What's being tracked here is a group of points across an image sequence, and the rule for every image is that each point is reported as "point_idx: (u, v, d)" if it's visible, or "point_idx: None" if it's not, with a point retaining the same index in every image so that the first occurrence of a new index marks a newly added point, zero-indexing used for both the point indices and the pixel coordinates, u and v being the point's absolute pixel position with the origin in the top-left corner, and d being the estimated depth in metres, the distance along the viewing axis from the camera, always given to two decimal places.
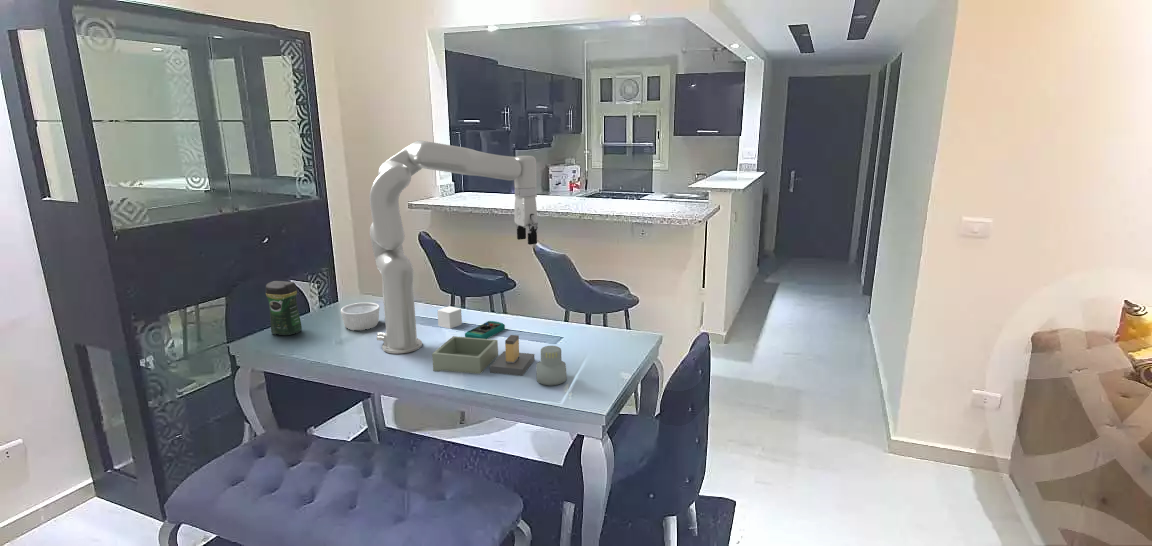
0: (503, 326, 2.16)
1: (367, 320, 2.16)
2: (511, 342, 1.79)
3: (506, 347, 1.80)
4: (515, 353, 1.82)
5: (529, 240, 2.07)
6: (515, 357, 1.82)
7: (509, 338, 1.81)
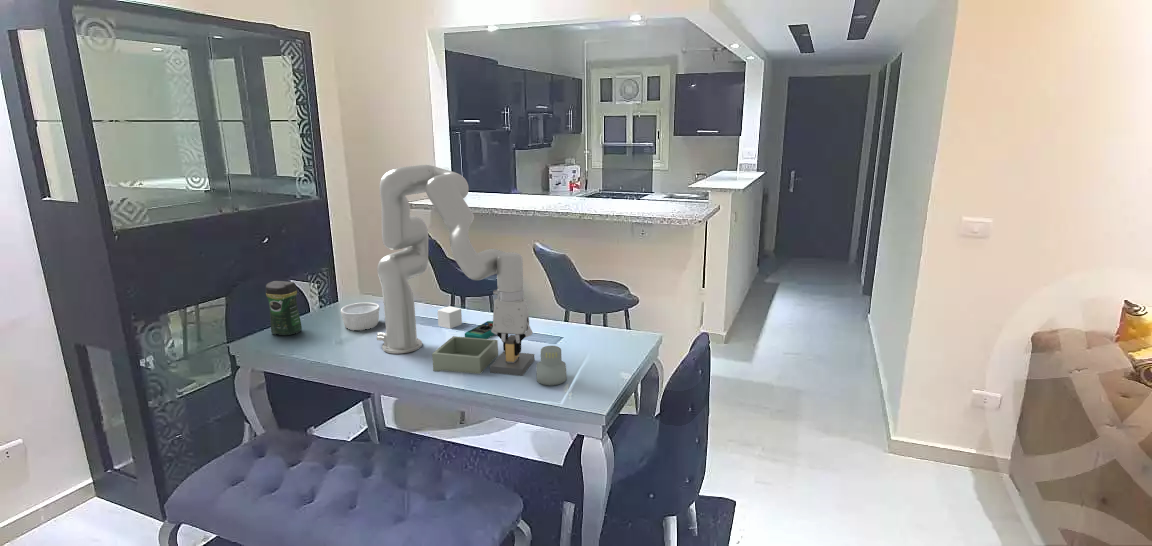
0: None
1: (367, 320, 2.16)
2: (511, 342, 1.79)
3: (506, 347, 1.80)
4: None
5: (517, 351, 1.81)
6: (515, 357, 1.82)
7: (509, 338, 1.81)
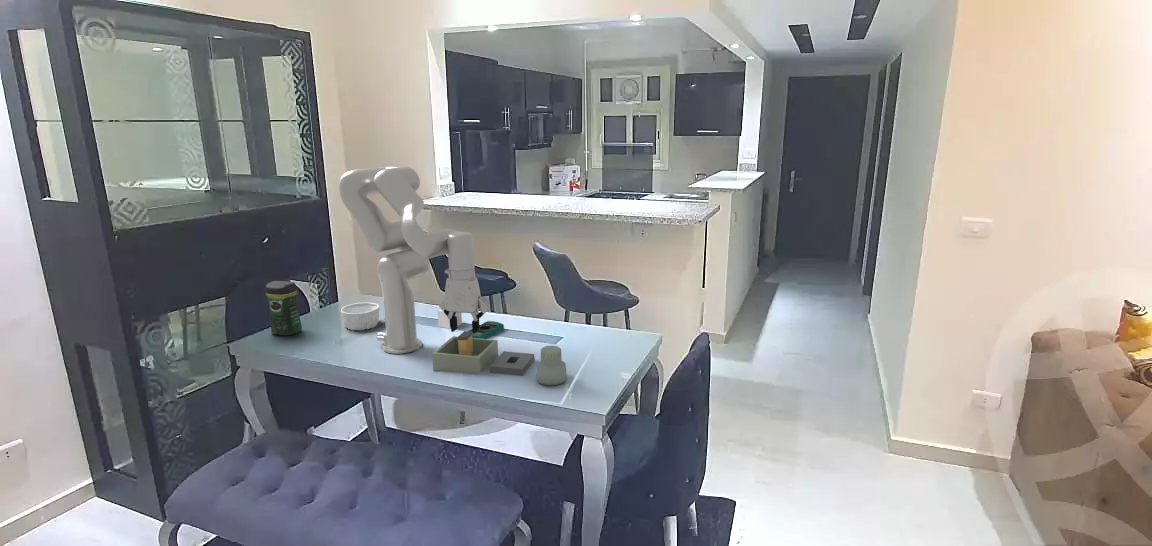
0: (502, 326, 2.16)
1: (367, 320, 2.16)
2: (464, 338, 1.83)
3: (459, 343, 1.83)
4: (468, 349, 1.85)
5: (474, 328, 1.82)
6: (468, 353, 1.85)
7: (462, 334, 1.85)
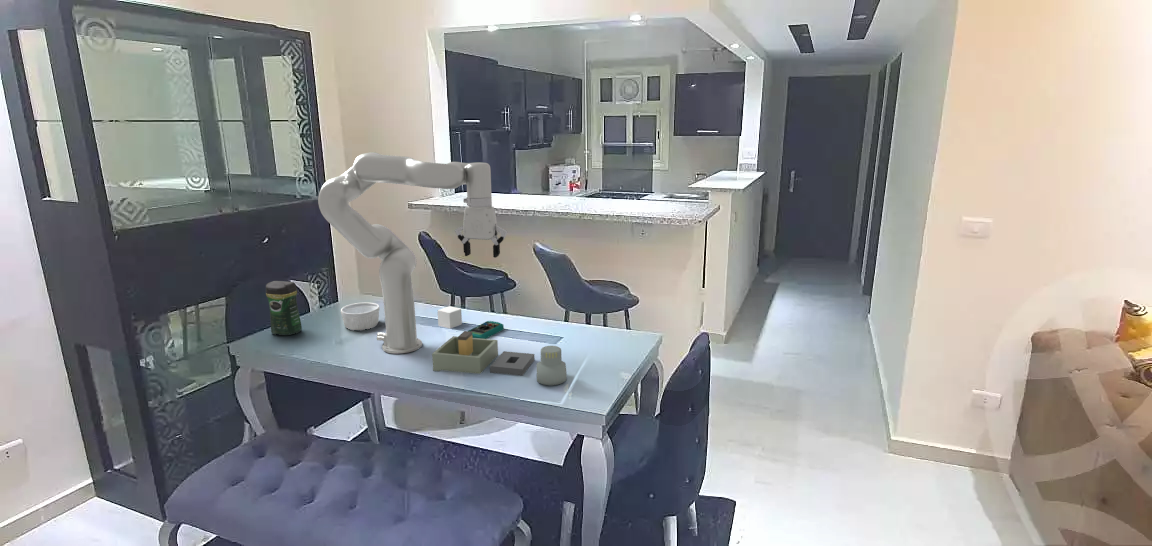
0: (502, 326, 2.16)
1: (367, 320, 2.16)
2: (464, 338, 1.83)
3: (459, 343, 1.83)
4: (468, 349, 1.85)
5: (495, 253, 1.92)
6: (468, 353, 1.85)
7: (462, 334, 1.85)
